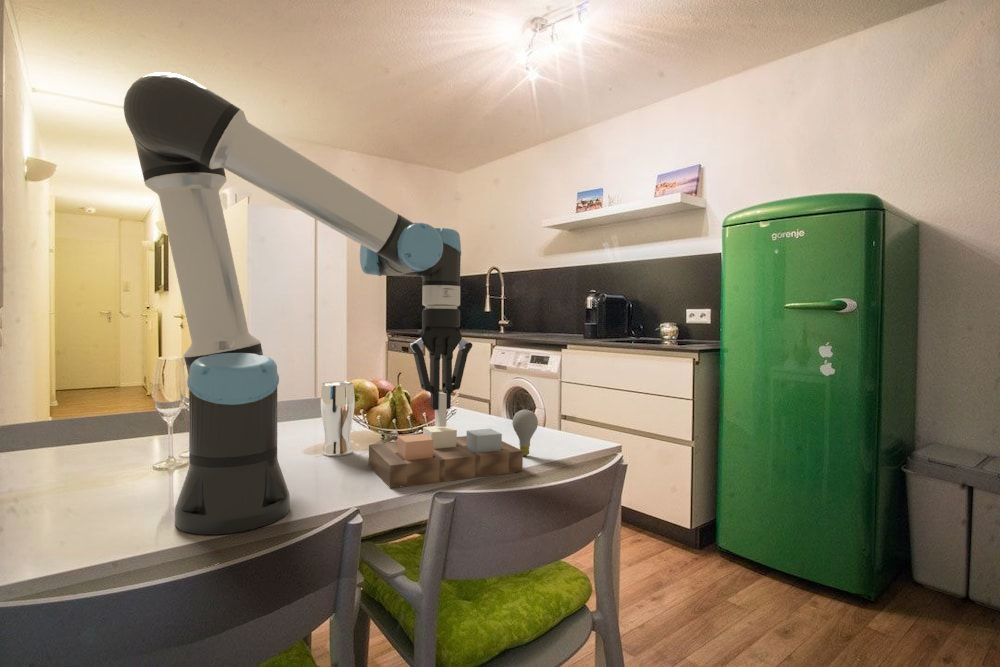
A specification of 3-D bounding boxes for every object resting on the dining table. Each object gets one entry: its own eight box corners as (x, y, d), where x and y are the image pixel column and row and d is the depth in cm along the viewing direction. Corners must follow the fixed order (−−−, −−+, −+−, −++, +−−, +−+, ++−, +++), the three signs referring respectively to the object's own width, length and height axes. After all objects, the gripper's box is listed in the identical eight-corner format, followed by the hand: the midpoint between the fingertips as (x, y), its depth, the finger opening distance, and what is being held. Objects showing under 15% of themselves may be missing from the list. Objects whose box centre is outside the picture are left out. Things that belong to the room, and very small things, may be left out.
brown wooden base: (389, 488, 93) (390, 465, 93) (368, 464, 108) (368, 444, 107) (522, 471, 105) (522, 450, 105) (487, 452, 119) (487, 434, 119)
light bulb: (527, 460, 113) (528, 412, 112) (506, 456, 116) (507, 409, 116) (542, 455, 117) (543, 409, 117) (521, 451, 120) (522, 406, 120)
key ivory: (431, 457, 105) (431, 432, 105) (422, 451, 110) (423, 427, 110) (456, 455, 108) (456, 430, 107) (447, 449, 112) (447, 425, 112)
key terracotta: (405, 469, 97) (405, 442, 97) (397, 462, 101) (397, 436, 101) (432, 466, 99) (433, 439, 99) (423, 459, 104) (424, 433, 104)
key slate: (476, 462, 103) (477, 436, 103) (466, 455, 108) (466, 430, 108) (501, 459, 105) (501, 433, 105) (489, 453, 110) (490, 428, 110)
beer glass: (348, 457, 113) (349, 385, 112) (315, 456, 113) (315, 385, 113) (358, 449, 120) (358, 381, 119) (326, 448, 120) (327, 381, 120)
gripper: (415, 307, 102) (414, 432, 102) (478, 308, 107) (477, 426, 108) (404, 307, 108) (403, 424, 109) (464, 308, 114) (463, 419, 115)
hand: (440, 425), depth 109 cm, fingers closed
